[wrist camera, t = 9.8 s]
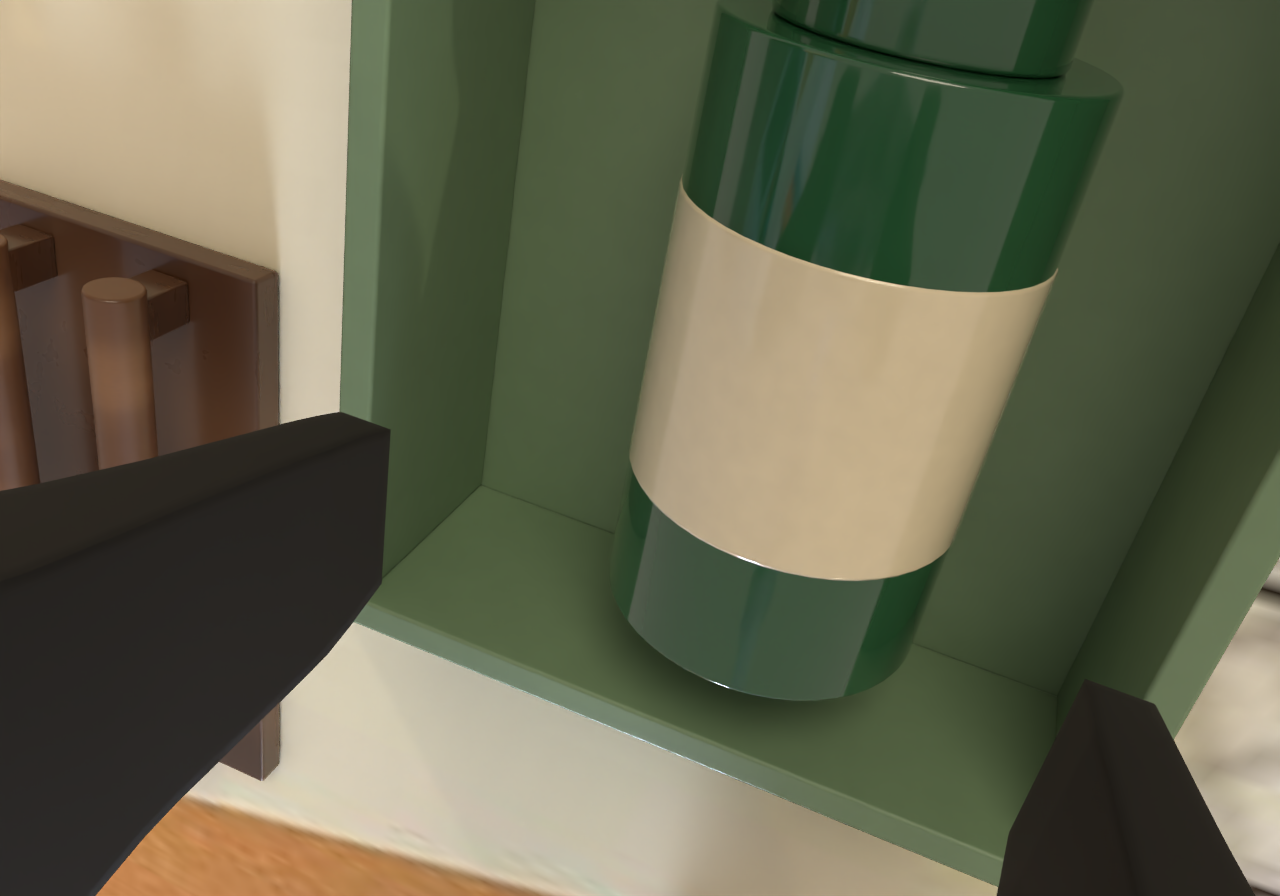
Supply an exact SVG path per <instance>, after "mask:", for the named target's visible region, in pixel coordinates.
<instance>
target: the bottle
mask: <svg viewBox="0 0 1280 896" xmlns="http://www.w3.org/2000/svg"><path fill="white" fill-rule="evenodd" d="M1094 1H1095V0H717V2H716V4H715V8H714V14H713V19H712V24H711V29H710V35H709V40H708V45H707V50H706V56H705V61H704V66H703V71H702V77H701V82H700V87H699V92H698V98H697V103H696V108H695V113H694V119H693V124H692V129H691V134H690V140H689V145H688V150H687V156H686V161H685V166H684V171H683V174H682V176H681V177H680V181H679V186H678V191H677V196H676V202H675V207H674V212H673V218H672V223H671V228H670V233H669V239H668V244H667V249H666V255H665V260H664V265H663V270H662V276H661V281H660V286H659V292H658V297H657V302H656V307H655V313H654V318H653V323H652V329H651V334H650V339H649V344H648V350H647V355H646V360H645V366H644V371H643V376H642V381H641V387H640V392H639V397H638V403H637V408H636V413H635V418H634V424H633V429H632V434H631V440H630V445H629V460H628V466H627V471H626V476H625V481H624V487H623V492H622V497H621V502H620V508H619V513H618V518H617V523H616V529H615V534H614V539H613V544H612V550H611V555H610V560H609V581H610V585H611V590H612V593H613V596H614V598H615V600H616V603H617V605H618V607H619V609H620V610H621V612H622V614H623V615H624V617H625V619H626V620H627V621H628V623H629V624H630V625H631V626H632V627H633V629H634V630H635V631H636V632H637V633H638V634H639V635H640V636H641V637H642V638H643V639H644V640H645V641H646V642H647V643H648V644H649V645H650V646H651V647H653V648H654V649H655V650H657V651H658V652H659V653H660V654H662V655H663V656H664V657H666V658H667V659H669V660H670V661H672V662H674V663H675V664H677V665H678V666H680V667H682V668H683V669H685V670H687V671H689V672H691V673H693V674H695V675H697V676H699V677H701V678H703V679H705V680H707V681H710V682H713V683H715V684H718V685H720V686H723V687H726V688H729V689H732V690H736V691H739V692H743V693H746V694H750V695H755V696H760V697H765V698H770V699H779V700H789V701H821V700H831V699H838V698H842V697H847V696H851V695H855V694H857V693H860V692H863V691H866V690H868V689H871V688H872V687H874V686H876V685H878V684H880V683H881V682H883V681H884V680H886V679H887V678H888V677H889V676H891V675H892V674H893V673H894V672H895V671H897V669H898V668H899V667H900V666H901V665H902V663H903V662H904V661H905V659H906V657H907V655H908V653H909V651H910V649H911V647H912V644H913V642H914V639H915V637H916V634H917V631H918V629H919V626H920V624H921V621H922V618H923V616H924V613H925V611H926V608H927V605H928V603H929V600H930V598H931V595H932V592H933V590H934V587H935V585H936V582H937V580H938V577H939V574H940V572H941V569H942V567H943V564H944V561H945V559H946V556H947V554H948V551H949V548H950V546H951V545H952V543H953V541H954V539H955V537H956V536H957V533H958V531H959V528H960V526H961V523H962V521H963V518H964V515H965V513H966V510H967V508H968V505H969V502H970V500H971V497H972V495H973V492H974V490H975V487H976V484H977V482H978V479H979V477H980V474H981V471H982V469H983V466H984V464H985V461H986V459H987V456H988V453H989V451H990V448H991V446H992V443H993V441H994V438H995V435H996V433H997V430H998V428H999V425H1000V422H1001V420H1002V417H1003V415H1004V412H1005V410H1006V407H1007V404H1008V402H1009V399H1010V397H1011V394H1012V391H1013V389H1014V386H1015V384H1016V381H1017V379H1018V376H1019V373H1020V371H1021V368H1022V366H1023V363H1024V360H1025V358H1026V355H1027V353H1028V350H1029V348H1030V345H1031V342H1032V340H1033V337H1034V335H1035V332H1036V329H1037V327H1038V324H1039V322H1040V319H1041V317H1042V314H1043V311H1044V309H1045V306H1046V304H1047V301H1048V298H1049V296H1050V293H1051V291H1052V288H1053V286H1054V283H1055V280H1056V278H1057V275H1058V268H1059V263H1060V261H1061V258H1062V256H1063V253H1064V250H1065V248H1066V245H1067V243H1068V240H1069V238H1070V235H1071V232H1072V230H1073V227H1074V225H1075V222H1076V219H1077V217H1078V214H1079V212H1080V209H1081V206H1082V204H1083V201H1084V199H1085V196H1086V193H1087V191H1088V188H1089V186H1090V183H1091V180H1092V178H1093V175H1094V173H1095V170H1096V168H1097V165H1098V162H1099V160H1100V157H1101V155H1102V152H1103V149H1104V147H1105V144H1106V142H1107V139H1108V136H1109V134H1110V131H1111V129H1112V126H1113V123H1114V121H1115V118H1116V116H1117V113H1118V111H1119V108H1120V105H1121V103H1122V100H1123V98H1124V87H1123V85H1122V84H1121V83H1120V82H1119V81H1118V80H1117V79H1115V78H1114V77H1113V76H1111V75H1110V74H1108V73H1107V72H1105V71H1103V70H1101V69H1099V68H1097V67H1095V66H1093V65H1091V64H1089V63H1087V62H1084V61H1082V60H1080V59H1077V58H1075V54H1076V51H1077V49H1078V46H1079V43H1080V40H1081V37H1082V35H1083V32H1084V29H1085V26H1086V23H1087V21H1088V18H1089V15H1090V12H1091V9H1092V6H1093V4H1094Z"/></svg>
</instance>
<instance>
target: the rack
mask: <svg viewBox="0 0 1280 896" xmlns="http://www.w3.org/2000/svg"><path fill="white" fill-rule="evenodd" d="M277 425H279V393H278V273H277V272H276V271H274V270H271V269H268V268H265V267H262V266H259V265H256V264H253V263H250V262H247V261H244V260H241V259H238V258H235V257H232V256H229V255H226V254H223V253H220V252H217V251H214V250H211V249H208V248H205V247H202V246H199V245H196V244H193V243H190V242H187V241H184V240H181V239H178V238H175V237H172V236H168V235H165V234H162V233H159V232H156V231H153V230H150V229H147V228H144V227H141V226H138V225H135V224H132V223H129V222H126V221H123V220H120V219H117V218H114V217H111V216H108V215H105V214H102V213H99V212H96V211H93V210H90V209H87V208H84V207H81V206H78V205H75V204H72V203H69V202H66V201H63V200H60V199H57V198H54V197H51V196H48V195H45V194H42V193H39V192H36V191H33V190H30V189H27V188H24V187H21V186H18V185H15V184H12V183H9V182H6V181H3V180H0V491H2V490H8V489H13V488H19V487H24V486H29V485H34V484H39V483H44V482H48V481H53V480H57V479H61V478H66V477H70V476H75V475H79V474H84V473H88V472H93V471H97V470H101V469H106V468H110V467H115V466H119V465H124V464H128V463H133V462H137V461H141V460H146V459H150V458H154V457H157V456H161V455H165V454H169V453H173V452H177V451H181V450H184V449H188V448H192V447H196V446H200V445H204V444H207V443H211V442H215V441H219V440H223V439H227V438H231V437H234V436H238V435H242V434H246V433H249V432H253V431H257V430H261V429H265V428H269V427H273V426H277ZM219 762H221V763H223V764H225V765H228V766H230V767H232V768H234V769H236V770H238V771H241V772H243V773H245V774H247V775H249V776H251V777H254V778H256V779H258V780H260V781H263V780H264V779H265V778H266V777H267V776H268V775H269V774H270V773H271V772H272V771H273V770H274V769H275V768H276V767H277V766H278V764H279V703H278V704H277V705H276V706H275V707H274V708H273V709H272V710H271V711H270V712H269V713H268V714H267V715H266V716H265V717H264V718H263V719H262V720H261V721H260V722H259V723H258V724H257V725H256V726H255V727H254V728H253V729H252V730H251V731H250V732H249V733H248V734H247V735H246V736H245V737H244V738H243V739H242V740H241V741H240V742H238V743H237V744H236V745H235V746H234V747H233V748H232V749H231V750H230V751H229V752H228V753H227V754H226V755H225V756H224V757H223V758H222V759H221V760H220V761H219Z"/></svg>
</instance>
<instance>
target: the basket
mask: <svg viewBox="0 0 1280 896" xmlns="http://www.w3.org/2000/svg"><path fill="white" fill-rule="evenodd" d="M716 2H717V0H352V17H351V50H350V83H349V116H348V149H347V182H346V215H345V249H344V282H343V315H342V348H341V381H340V412H343V413H346V414H349V415H352V416H355V417H357V418H360V419H363V420H366V421H368V422H371V423H374V424H377V425H380V426H382V427H385V428H388V429H391V434H390V451H389V468H388V485H387V502H386V519H385V535H384V552H383V569H382V584H381V585H380V586H379V588H378V589H377V591H376V592H375V593H374V595H373V596H372V597H371V599H370V600H369V601H368V603H367V604H366V605H365V607H364V608H363V609H362V611H361V612H360V614H359V615H358V616H357V618H356V619H355V620H354V622H355V623H358V624H360V625H363V626H365V627H368V628H370V629H372V630H375V631H377V632H380V633H382V634H385V635H387V636H389V637H392V638H394V639H397V640H399V641H402V642H404V643H406V644H409V645H411V646H414V647H416V648H419V649H421V650H423V651H426V652H428V653H431V654H433V655H436V656H438V657H440V658H443V659H445V660H448V661H450V662H453V663H455V664H457V665H460V666H462V667H465V668H467V669H470V670H472V671H475V672H477V673H479V674H482V675H484V676H487V677H489V678H492V679H494V680H496V681H499V682H501V683H504V684H506V685H509V686H511V687H513V688H516V689H518V690H521V691H523V692H526V693H528V694H530V695H533V696H535V697H538V698H540V699H543V700H545V701H547V702H550V703H552V704H555V705H557V706H560V707H562V708H564V709H567V710H569V711H572V712H574V713H577V714H579V715H581V716H584V717H586V718H589V719H591V720H594V721H596V722H598V723H601V724H603V725H606V726H608V727H611V728H613V729H615V730H618V731H620V732H623V733H625V734H628V735H630V736H632V737H635V738H637V739H640V740H642V741H645V742H647V743H649V744H652V745H654V746H657V747H659V748H662V749H664V750H666V751H669V752H671V753H674V754H676V755H679V756H681V757H683V758H686V759H688V760H691V761H693V762H696V763H698V764H700V765H703V766H705V767H708V768H710V769H713V770H715V771H717V772H720V773H722V774H725V775H727V776H730V777H732V778H734V779H737V780H739V781H742V782H744V783H747V784H749V785H751V786H754V787H756V788H759V789H761V790H764V791H766V792H768V793H771V794H773V795H776V796H778V797H781V798H783V799H785V800H788V801H790V802H793V803H795V804H798V805H800V806H802V807H805V808H807V809H810V810H812V811H815V812H817V813H819V814H822V815H824V816H827V817H829V818H832V819H834V820H836V821H839V822H841V823H844V824H846V825H849V826H851V827H854V828H856V829H858V830H861V831H863V832H866V833H868V834H871V835H873V836H875V837H878V838H880V839H883V840H885V841H888V842H890V843H892V844H895V845H897V846H900V847H902V848H905V849H907V850H909V851H912V852H914V853H917V854H919V855H922V856H924V857H926V858H929V859H931V860H934V861H936V862H939V863H941V864H943V865H946V866H948V867H951V868H953V869H956V870H958V871H960V872H963V873H965V874H968V875H970V876H973V877H975V878H977V879H980V880H982V881H985V882H987V883H990V884H992V885H994V886H997V887H999V881H1000V876H1001V871H1002V866H1003V860H1004V855H1005V850H1006V845H1007V839H1008V834H1009V831H1010V829H1011V827H1012V825H1013V823H1014V821H1015V819H1016V817H1017V815H1018V813H1019V811H1020V809H1021V807H1022V805H1023V803H1024V801H1025V799H1026V797H1027V795H1028V793H1029V791H1030V789H1031V787H1032V785H1033V783H1034V781H1035V779H1036V777H1037V775H1038V773H1039V771H1040V769H1041V767H1042V765H1043V763H1044V761H1045V759H1046V757H1047V755H1048V753H1049V751H1050V749H1051V747H1052V745H1053V743H1054V741H1055V739H1056V737H1057V735H1058V732H1059V730H1060V728H1061V726H1062V724H1063V722H1064V720H1065V718H1066V716H1067V714H1068V712H1069V710H1070V708H1071V706H1072V704H1073V702H1074V700H1075V698H1076V696H1077V694H1078V692H1079V690H1080V688H1081V686H1082V684H1083V682H1084V680H1085V679H1087V680H1090V681H1093V682H1095V683H1098V684H1101V685H1104V686H1106V687H1109V688H1112V689H1115V690H1118V691H1120V692H1123V693H1126V694H1129V695H1132V696H1134V697H1137V698H1140V699H1143V700H1145V701H1148V702H1151V703H1154V704H1155V705H1156V707H1157V708H1158V710H1159V712H1160V714H1161V716H1162V718H1163V720H1164V722H1165V724H1166V726H1167V728H1168V730H1169V732H1170V734H1171V736H1172V738H1173V740H1174V738H1175V736H1176V735H1177V733H1178V731H1179V730H1180V728H1181V726H1182V724H1183V723H1184V721H1185V719H1186V718H1187V716H1188V714H1189V712H1190V711H1191V709H1192V707H1193V705H1194V704H1195V702H1196V700H1197V699H1198V697H1199V695H1200V693H1201V692H1202V690H1203V688H1204V686H1205V685H1206V683H1207V681H1208V680H1209V678H1210V676H1211V674H1212V673H1213V671H1214V669H1215V668H1216V666H1217V664H1218V662H1219V661H1220V659H1221V657H1222V655H1223V654H1224V652H1225V650H1226V649H1227V647H1228V645H1229V643H1230V642H1231V640H1232V638H1233V637H1234V635H1235V633H1236V631H1237V630H1238V628H1239V626H1240V624H1241V623H1242V621H1243V619H1244V618H1245V616H1246V614H1247V612H1248V611H1249V609H1250V607H1251V605H1252V604H1253V602H1254V600H1255V599H1256V597H1257V595H1258V593H1259V592H1260V590H1261V588H1262V587H1263V585H1264V583H1265V581H1266V580H1267V578H1268V576H1269V574H1270V573H1271V571H1272V569H1273V568H1274V566H1275V564H1276V562H1277V561H1278V559H1279V557H1280V0H1095V1H1094V4H1093V6H1092V9H1091V12H1090V15H1089V18H1088V21H1087V23H1086V26H1085V29H1084V32H1083V35H1082V37H1081V40H1080V43H1079V46H1078V49H1077V51H1076V54H1075V58H1077V59H1080V60H1082V61H1084V62H1087V63H1089V64H1091V65H1093V66H1095V67H1097V68H1099V69H1101V70H1103V71H1105V72H1107V73H1108V74H1110V75H1111V76H1113V77H1114V78H1115V79H1117V80H1118V81H1119V82H1120V83H1121V84H1122V85H1123V87H1124V98H1123V100H1122V103H1121V105H1120V108H1119V111H1118V113H1117V116H1116V118H1115V121H1114V123H1113V126H1112V129H1111V131H1110V134H1109V136H1108V139H1107V142H1106V144H1105V147H1104V149H1103V152H1102V155H1101V157H1100V160H1099V162H1098V165H1097V168H1096V170H1095V173H1094V175H1093V178H1092V180H1091V183H1090V186H1089V188H1088V191H1087V193H1086V196H1085V199H1084V201H1083V204H1082V206H1081V209H1080V212H1079V214H1078V217H1077V219H1076V222H1075V225H1074V227H1073V230H1072V232H1071V235H1070V238H1069V240H1068V243H1067V245H1066V248H1065V250H1064V253H1063V256H1062V258H1061V261H1060V263H1059V268H1058V275H1057V278H1056V280H1055V283H1054V286H1053V288H1052V291H1051V293H1050V296H1049V298H1048V301H1047V304H1046V306H1045V309H1044V311H1043V314H1042V317H1041V319H1040V322H1039V324H1038V327H1037V329H1036V332H1035V335H1034V337H1033V340H1032V342H1031V345H1030V348H1029V350H1028V353H1027V355H1026V358H1025V360H1024V363H1023V366H1022V368H1021V371H1020V373H1019V376H1018V379H1017V381H1016V384H1015V386H1014V389H1013V391H1012V394H1011V397H1010V399H1009V402H1008V404H1007V407H1006V410H1005V412H1004V415H1003V417H1002V420H1001V422H1000V425H999V428H998V430H997V433H996V435H995V438H994V441H993V443H992V446H991V448H990V451H989V453H988V456H987V459H986V461H985V464H984V466H983V469H982V471H981V474H980V477H979V479H978V482H977V484H976V487H975V490H974V492H973V495H972V497H971V500H970V502H969V505H968V508H967V510H966V513H965V515H964V518H963V521H962V523H961V526H960V528H959V531H958V533H957V536H956V537H955V539H954V541H953V543H952V545H951V546H950V548H949V551H948V554H947V556H946V559H945V561H944V564H943V567H942V569H941V572H940V574H939V577H938V580H937V582H936V585H935V587H934V590H933V592H932V595H931V598H930V600H929V603H928V605H927V608H926V611H925V613H924V616H923V618H922V621H921V624H920V626H919V629H918V631H917V634H916V637H915V639H914V642H913V644H912V647H911V649H910V651H909V653H908V655H907V657H906V659H905V661H904V662H903V663H902V665H901V666H900V667H899V668H898V669H897V671H895V672H894V673H893V674H892V675H891V676H889V677H888V678H887V679H886V680H884V681H883V682H881V683H880V684H878V685H876V686H874V687H872V688H871V689H868V690H866V691H863V692H860V693H857V694H855V695H851V696H847V697H842V698H838V699H831V700H821V701H789V700H779V699H770V698H765V697H760V696H755V695H750V694H746V693H743V692H739V691H736V690H732V689H729V688H726V687H723V686H720V685H718V684H715V683H713V682H710V681H707V680H705V679H703V678H701V677H699V676H697V675H695V674H693V673H691V672H689V671H687V670H685V669H683V668H682V667H680V666H678V665H677V664H675V663H674V662H672V661H670V660H669V659H667V658H666V657H664V656H663V655H662V654H660V653H659V652H658V651H657V650H655V649H654V648H653V647H651V646H650V645H649V644H648V643H647V642H646V641H645V640H644V639H643V638H642V637H641V636H640V635H639V634H638V633H637V632H636V631H635V630H634V629H633V627H632V626H631V625H630V624H629V623H628V621H627V620H626V619H625V617H624V615H623V614H622V612H621V610H620V609H619V607H618V605H617V603H616V600H615V598H614V596H613V593H612V590H611V585H610V581H609V560H610V555H611V550H612V544H613V539H614V534H615V529H616V523H617V518H618V513H619V508H620V502H621V497H622V492H623V487H624V481H625V476H626V471H627V466H628V460H629V445H630V440H631V434H632V429H633V424H634V418H635V413H636V408H637V403H638V397H639V392H640V387H641V381H642V376H643V371H644V366H645V360H646V355H647V350H648V344H649V339H650V334H651V329H652V323H653V318H654V313H655V307H656V302H657V297H658V292H659V286H660V281H661V276H662V270H663V265H664V260H665V255H666V249H667V244H668V239H669V233H670V228H671V223H672V218H673V212H674V207H675V202H676V196H677V191H678V186H679V181H680V177H681V176H682V174H683V171H684V166H685V161H686V156H687V150H688V145H689V140H690V134H691V129H692V124H693V119H694V113H695V108H696V103H697V98H698V92H699V87H700V82H701V77H702V71H703V66H704V61H705V56H706V50H707V45H708V40H709V35H710V29H711V24H712V19H713V14H714V8H715V4H716Z"/></svg>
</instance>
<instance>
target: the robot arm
mask: <svg viewBox="0 0 1280 896" xmlns="http://www.w3.org/2000/svg"><path fill="white" fill-rule="evenodd" d="M390 434H391V429H388V428H385V427H382V426H380V425H377V424H374V423H371V422H368V421H366V420H363V419H360V418H357V417H355V416H352V415H349V414H346V413H343V412H338V413H332V414H326V415H320V416H315V417H310V418H306V419H302V420H297V421H293V422H289V423H285V424H281V425H277V426H273V427H269V428H265V429H261V430H257V431H253V432H249V433H246V434H242V435H238V436H234V437H231V438H227V439H223V440H219V441H215V442H211V443H207V444H204V445H200V446H196V447H192V448H188V449H184V450H181V451H177V452H173V453H169V454H165V455H161V456H157V457H154V458H150V459H146V460H141V461H137V462H133V463H128V464H124V465H119V466H115V467H110V468H106V469H101V470H97V471H93V472H88V473H84V474H79V475H75V476H70V477H66V478H61V479H57V480H53V481H48V482H44V483H39V484H34V485H29V486H24V487H19V488H13V489H8V490H2V491H0V896H95V895H96V894H97V893H98V892H99V891H100V890H101V888H102V887H103V886H104V885H105V884H106V882H107V881H108V880H109V879H110V878H111V876H112V875H113V874H114V873H115V872H116V870H117V869H118V868H119V867H120V866H121V864H122V863H123V862H124V861H125V860H126V858H127V857H128V856H129V855H130V854H131V852H132V851H133V850H134V849H135V848H136V847H137V845H138V844H139V843H140V842H141V841H142V839H143V838H144V837H145V836H146V835H147V834H148V833H149V832H150V831H151V830H152V828H153V827H154V826H155V825H156V824H157V823H158V822H159V821H160V820H161V819H162V818H163V817H164V816H165V815H166V814H167V813H168V812H169V810H170V809H171V808H172V807H173V806H174V805H175V804H176V803H177V802H178V801H179V800H180V799H181V798H182V797H183V796H184V795H185V794H186V793H187V792H188V791H189V790H190V789H191V788H192V787H193V786H194V785H195V784H196V783H197V782H198V781H200V780H201V779H202V778H203V777H204V776H205V775H206V774H207V773H208V772H209V771H210V770H211V769H212V768H213V767H214V766H215V765H216V764H217V763H218V762H219V761H220V760H221V759H222V758H223V757H224V756H225V755H226V754H227V753H228V752H229V751H230V750H231V749H232V748H233V747H234V746H235V745H236V744H237V743H238V742H240V741H241V740H242V739H243V738H244V737H245V736H246V735H247V734H248V733H249V732H250V731H251V730H252V729H253V728H254V727H255V726H256V725H257V724H258V723H259V722H260V721H261V720H262V719H263V718H264V717H265V716H266V715H267V714H268V713H269V712H270V711H271V710H272V709H273V708H274V707H275V706H276V705H277V704H278V703H279V702H280V701H281V700H282V699H283V698H284V697H285V696H287V695H288V694H289V693H290V692H291V691H292V690H293V689H294V688H295V687H296V686H297V685H298V684H299V683H300V682H301V681H302V680H303V679H304V678H305V677H306V676H307V675H308V674H309V673H310V672H311V671H312V670H313V669H314V668H315V667H316V666H317V664H318V663H319V662H320V661H321V660H322V659H323V658H324V657H325V656H326V655H327V654H328V653H329V652H330V651H331V649H332V648H333V647H334V646H335V644H336V643H337V642H338V641H339V639H340V638H341V637H342V635H343V634H344V633H345V632H346V630H347V629H348V628H349V627H350V625H351V624H352V623H353V622H354V620H355V619H356V618H357V616H358V615H359V614H360V612H361V611H362V609H363V608H364V607H365V605H366V604H367V603H368V601H369V600H370V599H371V597H372V596H373V595H374V593H375V592H376V591H377V589H378V588H379V586H380V585H381V584H382V569H383V552H384V535H385V519H386V502H387V485H388V468H389V451H390ZM997 896H1255V894H1254V893H1253V891H1252V889H1251V887H1250V885H1249V884H1248V882H1247V880H1246V878H1245V876H1244V875H1243V873H1242V871H1241V869H1240V867H1239V866H1238V864H1237V862H1236V860H1235V858H1234V857H1233V855H1232V853H1231V851H1230V849H1229V847H1228V845H1227V844H1226V842H1225V840H1224V838H1223V836H1222V834H1221V832H1220V830H1219V828H1218V826H1217V825H1216V823H1215V821H1214V819H1213V817H1212V815H1211V813H1210V811H1209V809H1208V807H1207V805H1206V803H1205V801H1204V799H1203V797H1202V795H1201V793H1200V791H1199V789H1198V787H1197V785H1196V784H1195V782H1194V780H1193V778H1192V776H1191V774H1190V772H1189V770H1188V768H1187V766H1186V764H1185V762H1184V760H1183V758H1182V756H1181V754H1180V752H1179V750H1178V748H1177V746H1176V744H1175V742H1174V740H1173V738H1172V736H1171V734H1170V732H1169V730H1168V728H1167V726H1166V724H1165V722H1164V720H1163V718H1162V716H1161V714H1160V712H1159V710H1158V708H1157V707H1156V705H1155V704H1154V703H1151V702H1148V701H1145V700H1143V699H1140V698H1137V697H1134V696H1132V695H1129V694H1126V693H1123V692H1120V691H1118V690H1115V689H1112V688H1109V687H1106V686H1104V685H1101V684H1098V683H1095V682H1093V681H1090V680H1087V679H1085V680H1084V682H1083V684H1082V686H1081V688H1080V690H1079V692H1078V694H1077V696H1076V698H1075V700H1074V702H1073V704H1072V706H1071V708H1070V710H1069V712H1068V714H1067V716H1066V718H1065V720H1064V722H1063V724H1062V726H1061V728H1060V730H1059V732H1058V735H1057V737H1056V739H1055V741H1054V743H1053V745H1052V747H1051V749H1050V751H1049V753H1048V755H1047V757H1046V759H1045V761H1044V763H1043V765H1042V767H1041V769H1040V771H1039V773H1038V775H1037V777H1036V779H1035V781H1034V783H1033V785H1032V787H1031V789H1030V791H1029V793H1028V795H1027V797H1026V799H1025V801H1024V803H1023V805H1022V807H1021V809H1020V811H1019V813H1018V815H1017V817H1016V819H1015V821H1014V823H1013V825H1012V827H1011V829H1010V831H1009V834H1008V839H1007V845H1006V850H1005V855H1004V860H1003V866H1002V871H1001V876H1000V881H999V887H998V892H997Z"/></svg>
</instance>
